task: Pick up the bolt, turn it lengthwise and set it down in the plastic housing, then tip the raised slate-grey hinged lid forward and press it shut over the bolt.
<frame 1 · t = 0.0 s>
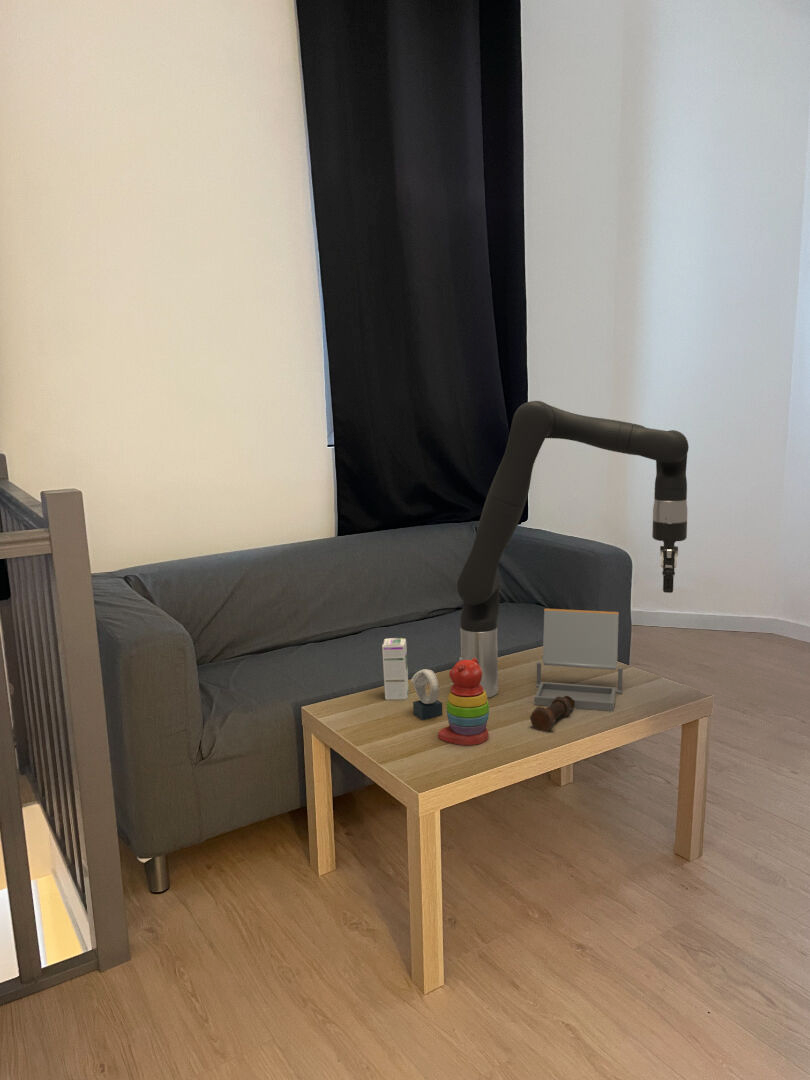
hand: (668, 587, 192), 29 cm above the table, tool pointing down, fingers open, 8 cm apart
lid: (580, 638, 212), point 12 cm above the table, hinge at 105.0°
syrup box: (396, 696, 210), on the table
watch: (427, 715, 198), on the table
housing: (575, 699, 204), on the table
bolt: (555, 721, 193), on the table
stacking bear: (467, 737, 185), on the table
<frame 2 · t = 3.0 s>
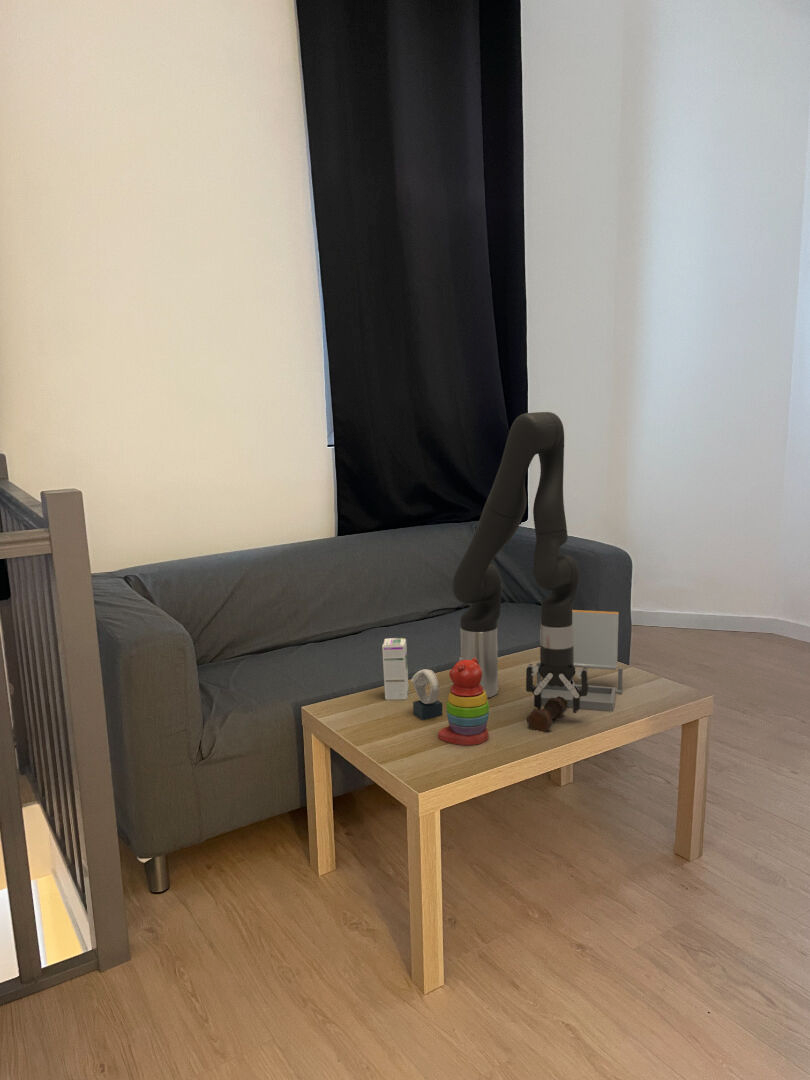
hand: (557, 710, 192), 2 cm above the table, tool pointing down, fingers open, 7 cm apart
bolt: (550, 722, 193), on the table, touching gripper
everything else where it was.
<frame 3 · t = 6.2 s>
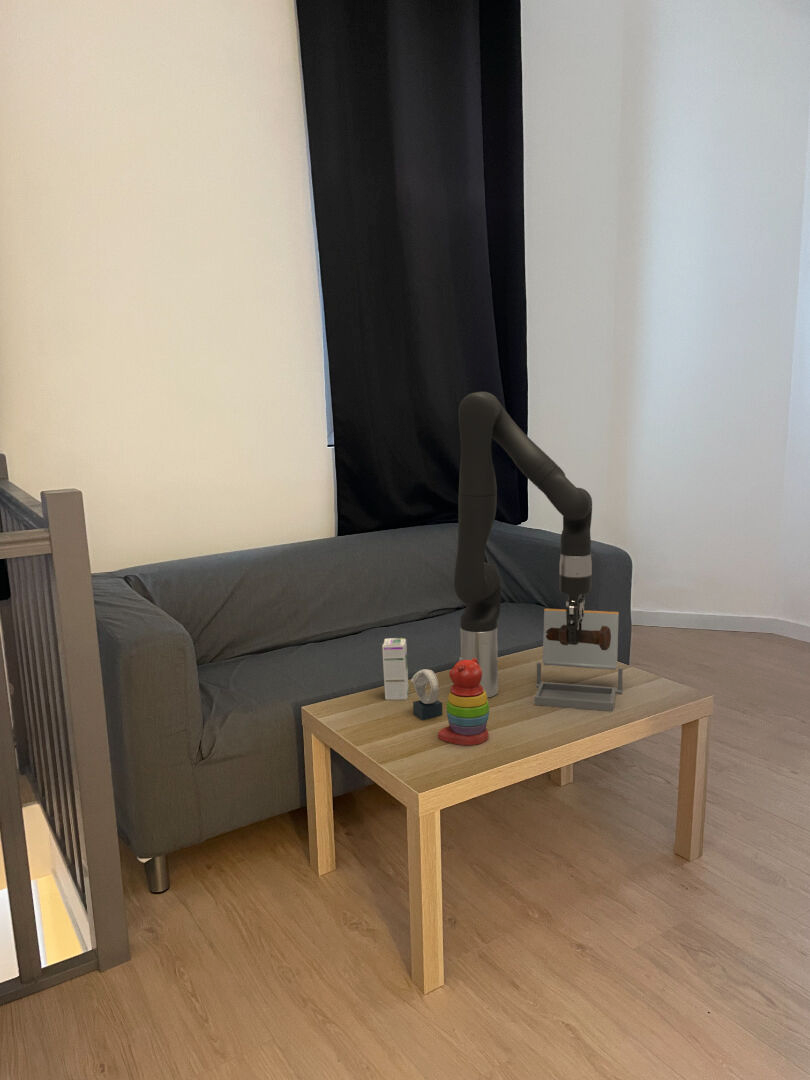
hand: (575, 640, 201), 15 cm above the table, tool pointing down, fingers closed on bolt, 5 cm apart
bolt: (578, 643, 201), point 14 cm above the table, touching gripper
everything else where it was.
when the fingers open (3 cm above the table, at t = 9.0 s): bolt drops 2 cm, resting on housing.
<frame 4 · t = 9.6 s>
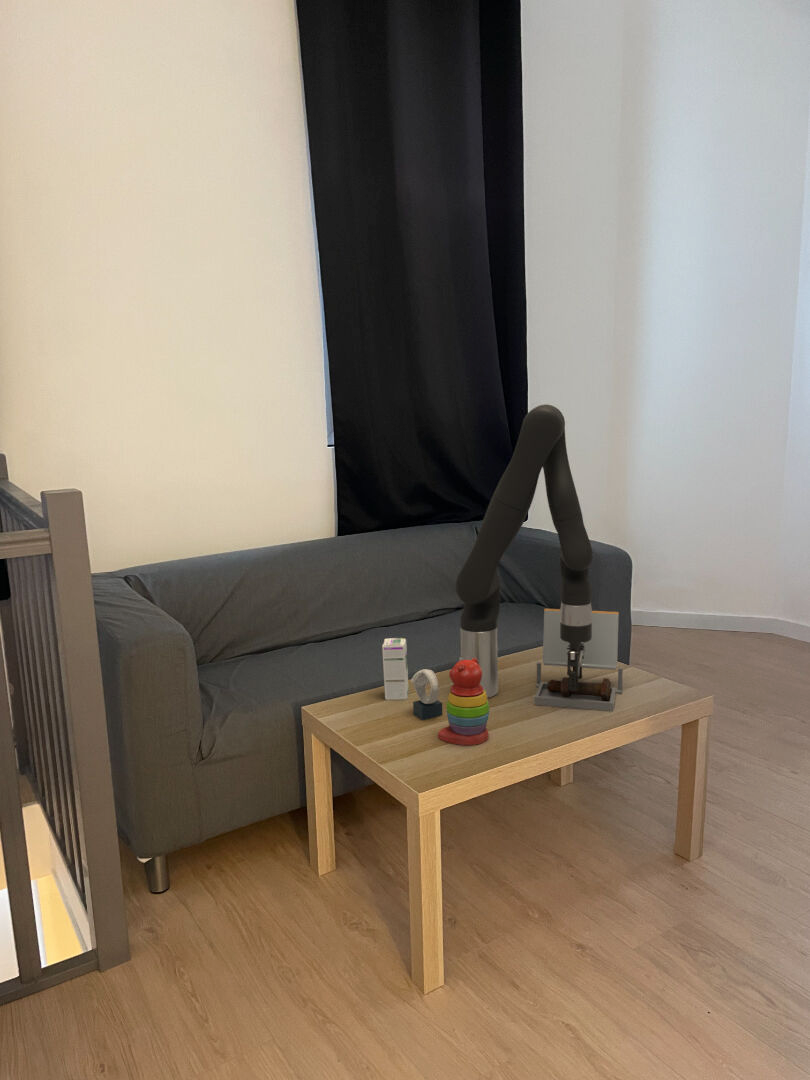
hand: (575, 684, 203), 4 cm above the table, tool pointing down, fingers open, 8 cm apart
bolt: (578, 697, 204), resting on housing
everything else where it was.
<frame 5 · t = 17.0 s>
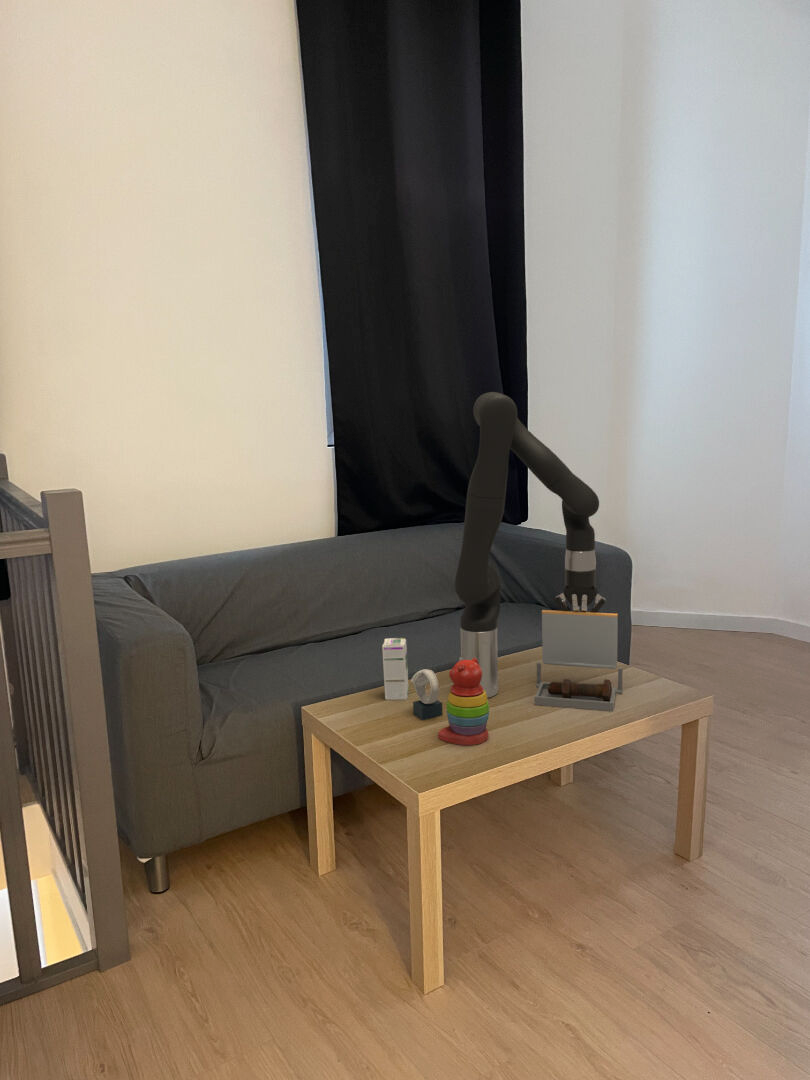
hand: (580, 632, 211), 14 cm above the table, tool pointing down, fingers closed
lid: (579, 639, 210), point 13 cm above the table, hinge at 85.4°, touching gripper, hand
bolt: (579, 699, 203), resting on housing
everything else where it was.
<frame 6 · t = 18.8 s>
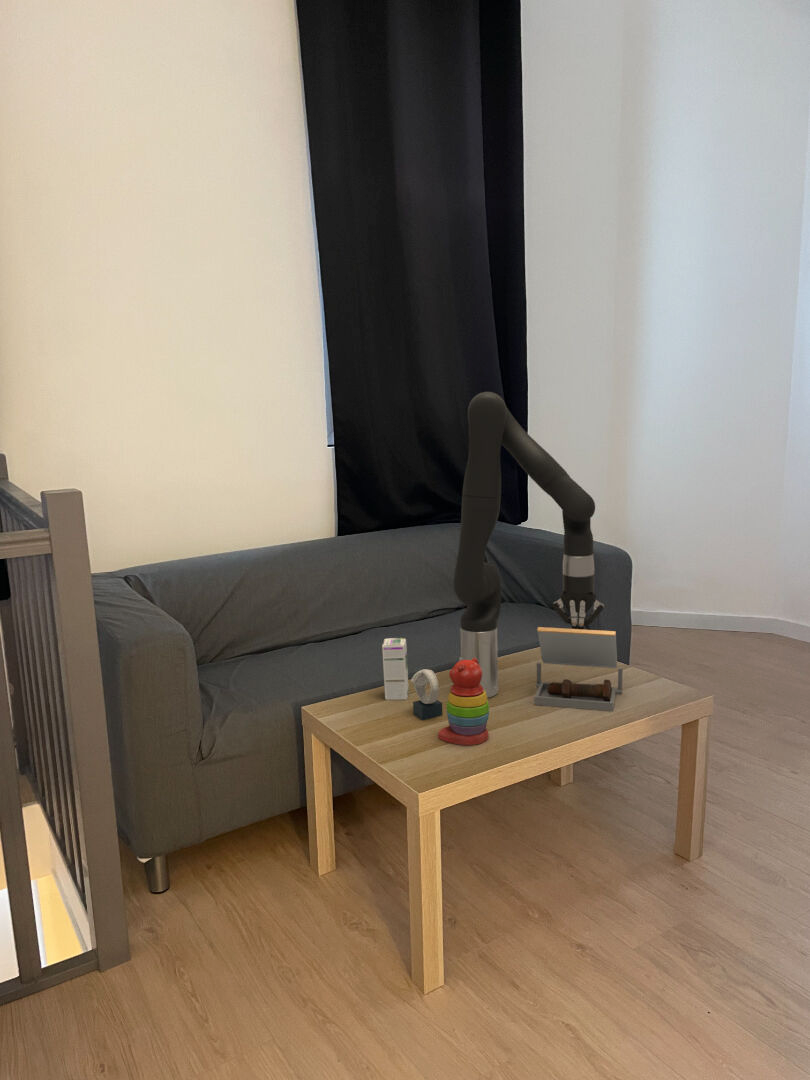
hand: (578, 639, 206), 14 cm above the table, tool pointing down, fingers closed
lid: (577, 648, 206), point 12 cm above the table, hinge at 52.0°, touching gripper
everything else where it was.
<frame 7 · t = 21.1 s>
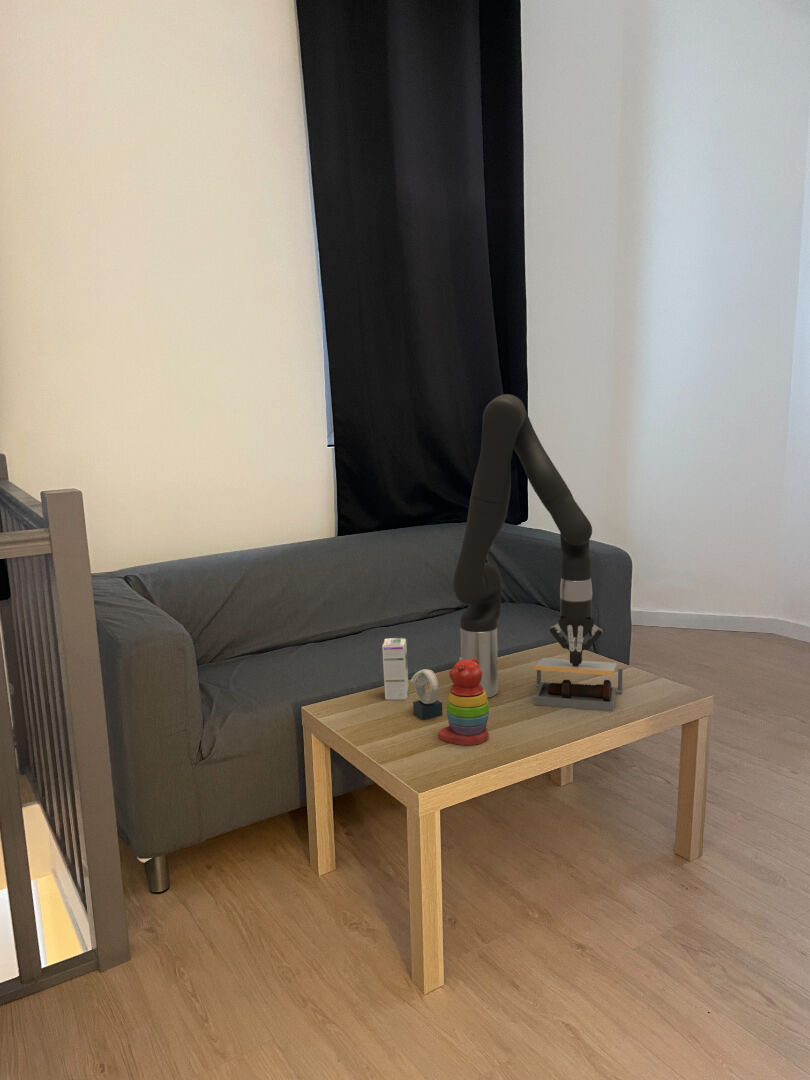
hand: (576, 665, 202), 9 cm above the table, tool pointing down, fingers closed
lid: (576, 666, 204), point 8 cm above the table, hinge at 10.7°, touching gripper
everything else where it was.
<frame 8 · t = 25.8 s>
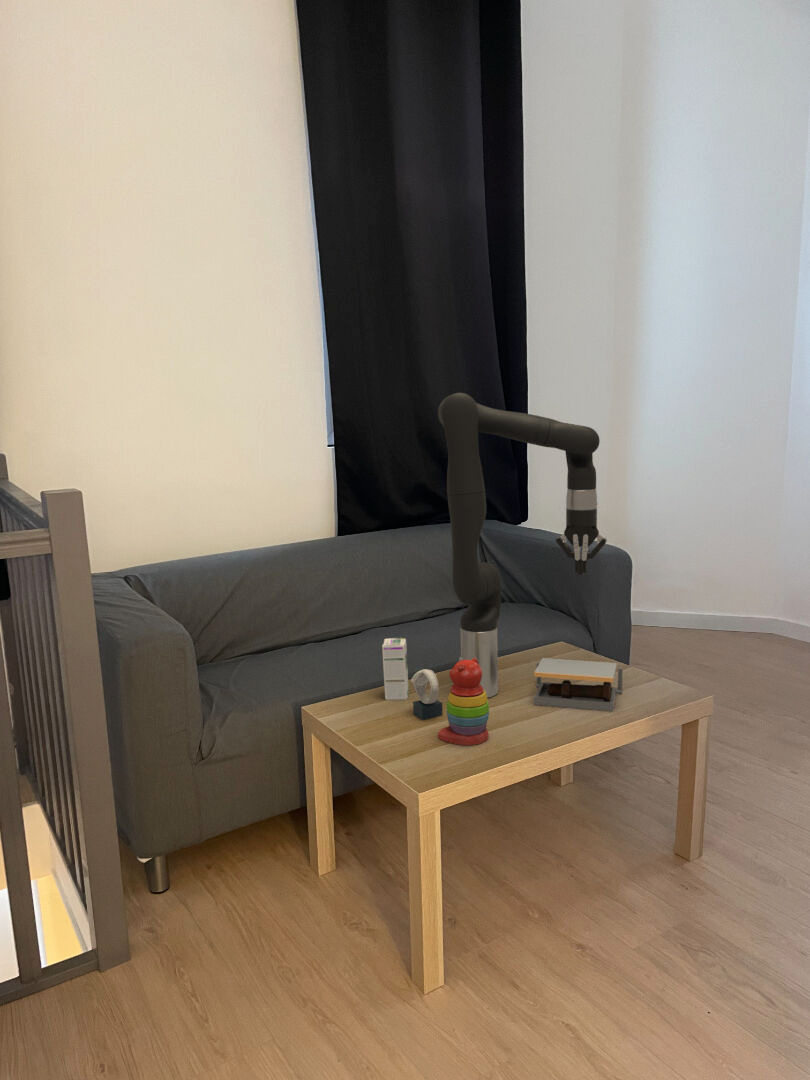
hand: (581, 574, 210), 29 cm above the table, tool pointing down, fingers closed
lid: (576, 670, 204), point 7 cm above the table, hinge at 3.9°
everything else where it was.
at the end: bolt 1.3 cm off-centre on the housing, point 0.3 cm above the housing's base; lid at +4° (first picture: +105°); the gripper is holding nothing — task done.
